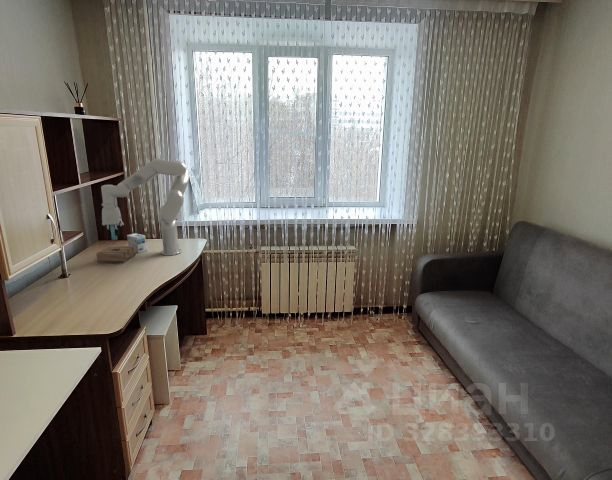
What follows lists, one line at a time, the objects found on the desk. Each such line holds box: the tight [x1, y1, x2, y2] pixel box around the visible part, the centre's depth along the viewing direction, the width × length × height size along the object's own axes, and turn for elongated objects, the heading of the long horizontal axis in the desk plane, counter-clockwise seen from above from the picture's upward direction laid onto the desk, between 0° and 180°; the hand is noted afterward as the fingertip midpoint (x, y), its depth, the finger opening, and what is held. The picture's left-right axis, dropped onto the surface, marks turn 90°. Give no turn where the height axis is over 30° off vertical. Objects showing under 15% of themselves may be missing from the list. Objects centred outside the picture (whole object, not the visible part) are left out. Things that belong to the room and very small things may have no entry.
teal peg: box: [110, 225, 118, 241], centre depth 243 cm, size 3×3×10 cm
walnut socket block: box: [95, 245, 137, 264], centre depth 247 cm, size 16×16×6 cm
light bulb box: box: [126, 232, 148, 254], centre depth 263 cm, size 11×7×11 cm, turn 58°
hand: (114, 234), depth 243 cm, fingers closed on teal peg, 3 cm apart
